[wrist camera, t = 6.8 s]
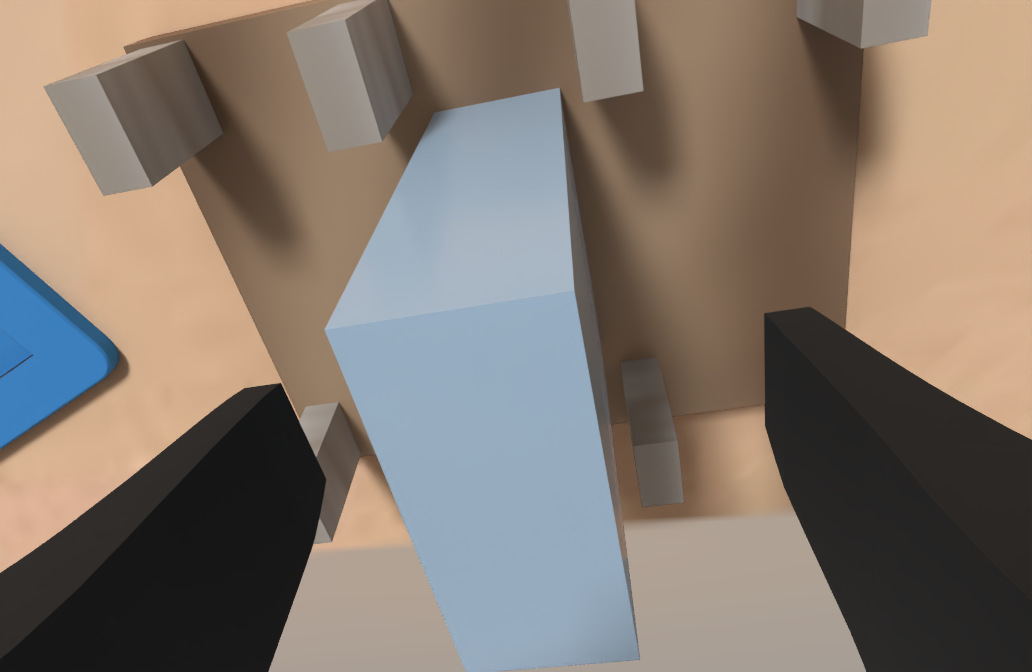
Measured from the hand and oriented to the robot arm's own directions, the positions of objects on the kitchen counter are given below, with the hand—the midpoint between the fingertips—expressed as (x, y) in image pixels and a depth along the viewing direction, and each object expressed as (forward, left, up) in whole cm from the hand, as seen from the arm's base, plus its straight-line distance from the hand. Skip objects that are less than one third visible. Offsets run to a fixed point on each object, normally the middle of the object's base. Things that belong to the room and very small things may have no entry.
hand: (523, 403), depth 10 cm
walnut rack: (0, 0, -7) cm, 7 cm away
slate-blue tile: (0, 0, -6) cm, 6 cm away
